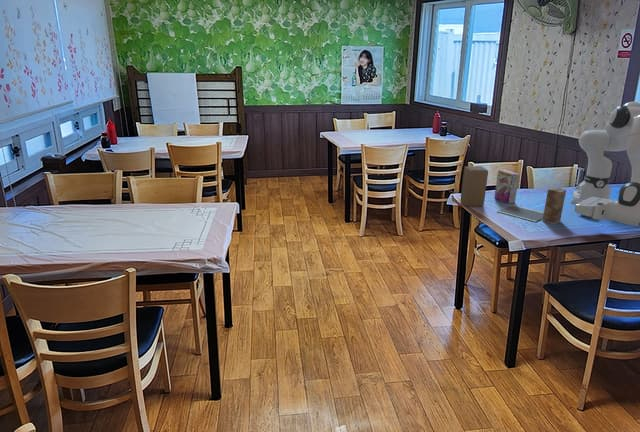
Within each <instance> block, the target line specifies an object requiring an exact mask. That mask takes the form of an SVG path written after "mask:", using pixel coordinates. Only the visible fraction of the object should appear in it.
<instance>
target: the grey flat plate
mask: <svg viewBox="0 0 640 432" xmlns="http://www.w3.org/2000/svg"><path fill="white" fill-rule="evenodd" d="M496 213H498V214H499V213H500V214H503V215H505V216H510V217H513V218H517V219H521V220H525V221H529V222H533V223H538V222H540V221H541V219H542V220H543V214H544V211H543V212H542V211H538V210H534V209H530V208H526V207H522V206H520V205H519V206H518V205H514V204H511V205H509V206H507V207H504V208H502V209H499V210H496ZM539 220H540V221H539Z"/></svg>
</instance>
